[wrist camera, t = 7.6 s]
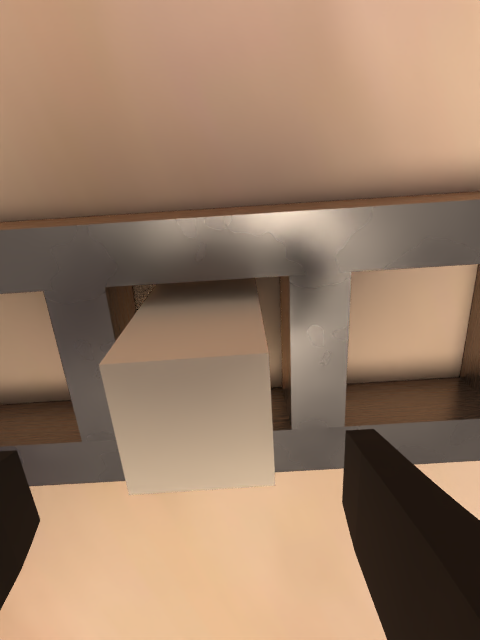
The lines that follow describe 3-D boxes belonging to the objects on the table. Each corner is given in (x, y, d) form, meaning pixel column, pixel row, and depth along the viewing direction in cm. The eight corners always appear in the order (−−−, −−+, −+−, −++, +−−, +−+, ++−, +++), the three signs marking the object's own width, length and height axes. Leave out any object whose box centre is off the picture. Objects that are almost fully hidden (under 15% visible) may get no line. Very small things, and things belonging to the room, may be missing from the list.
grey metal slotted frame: (-53, 444, 18) (-106, 493, 15) (-141, 231, 15) (-231, 244, 12) (496, 412, 18) (545, 456, 15) (544, 187, 14) (620, 190, 11)
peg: (169, 370, 17) (128, 494, 10) (156, 284, 15) (98, 364, 9) (259, 364, 17) (275, 485, 10) (254, 277, 15) (268, 353, 9)
